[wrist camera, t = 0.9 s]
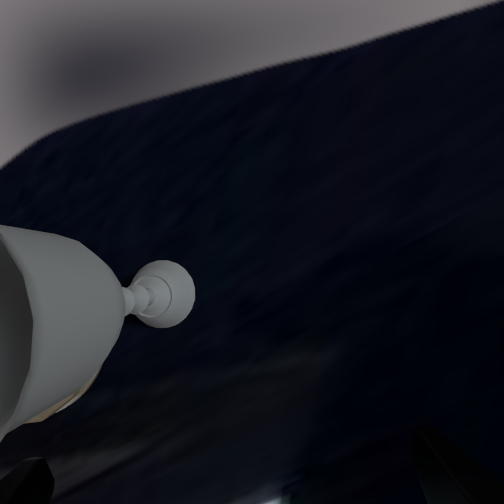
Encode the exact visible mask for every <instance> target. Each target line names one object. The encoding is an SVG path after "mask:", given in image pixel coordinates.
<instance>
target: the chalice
mask: <svg viewBox="0 0 504 504" xmlns="http://www.w3.org/2000/svg"><path fill="white" fill-rule="evenodd" d="M194 300H195V287H194V284H193V281H192V278H191V277H190V275H189V274H188V272H187V271H186V270H185V269H184V268H183V267H181V266H180V265H179V264H177V263H174V262H171V261H168V260H164V261H155V262H152V263H149V264H147V265H146V266H144V267H143V268H142V269H140V270H139V271H138V273H137V274H136V276H135V277H134V278H133V281H132V283H131V285H130V286H129V287H127V288H124V287H121V284H120V283H119V281H118V279H117V278H116V276H115V275H114V273H113V272H112V270H111V269H110V268H109V267H108V266H107V265H106V264H105V263H104V262H103V261H102V260H101V259H100V258H99V257H98V256H97V255H95V254H94V253H93V252H91V251H90V250H89V249H88V248H86V247H85V246H84V245H82V244H81V243H80V242H79V241H76V240H72V239H69V238H66V237H63V236H59V235H56V234H51V233H45V232H39V231H33V230H27V229H21V228H15V227H9V226H3V225H0V442H1V440H2V439H3V437H4V436H5V434H7V433H8V432H10V431H12V430H13V429H15V428H17V427H18V426H20V425H22V424H23V423H25V422H27V421H28V420H30V419H32V418H33V417H35V416H37V415H38V414H40V413H42V412H43V411H45V410H47V409H48V408H50V407H52V406H53V405H55V404H57V403H58V402H60V401H62V400H63V399H65V398H67V397H68V396H70V395H72V394H73V393H74V392H75V391H77V390H78V389H79V388H80V387H82V386H83V385H84V384H85V383H87V382H88V381H89V380H90V379H92V377H93V376H94V375H95V373H96V372H97V370H98V369H99V367H100V366H101V364H102V363H103V362H104V360H105V359H106V357H107V356H108V354H109V352H110V351H111V349H112V347H113V346H114V344H115V342H116V341H117V339H118V337H119V334H120V331H121V328H122V325H123V322H124V316H126V315H128V314H129V313H130V314H135V315H136V316H137V317H138V318H139V319H140V320H141V321H143V322H144V323H145V324H147V325H150V326H152V327H155V328H168V327H171V326H174V325H177V324H178V323H180V322H181V321H182V320H184V319H185V318H186V317H187V315H188V314H189V312H190V311H191V310H192V307H193V303H194Z"/></svg>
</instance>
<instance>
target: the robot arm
mask: <svg viewBox="0 0 504 504" xmlns="http://www.w3.org/2000/svg"><path fill="white" fill-rule="evenodd" d="M411 454H412V459H413V463H414V466H415V468H416V471H417V474H418V477H419V479H420V482H421V485H422V488H423V490H424V493H425V496H426V499H427V501H428V504H504V484H503V483H502V482H500V481H499V480H498V479H497V478H495V477H494V476H493V475H492V474H491V473H489V472H488V471H487V470H486V469H484V468H483V467H482V466H481V465H480V464H478V463H477V462H476V461H475V460H473V459H472V458H471V457H470V456H469V455H467V454H466V453H465V452H464V451H462V450H461V449H460V448H459V447H458V446H456V445H455V444H454V443H453V442H451V441H450V440H449V439H448V438H447V437H445V436H444V435H443V434H442V433H440V432H439V431H438V430H437V429H435V428H434V427H430V426H428V427H417V428H416V429H415V430H414V435H413V442H412V449H411ZM53 490H54V478H53V475H52V473H51V471H50V469H49V466H48V464H47V462H46V460H45V459H44V458H42V457H39V458H28V459H25V460H24V461H22V462H21V463H20V464H18V465H17V466H16V467H15V468H14V469H13V470H12V471H10V472H9V473H8V474H7V475H6V476H5V477H4V478H2V479H1V480H0V504H49V503H50V499H51V496H52V493H53Z"/></svg>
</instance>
